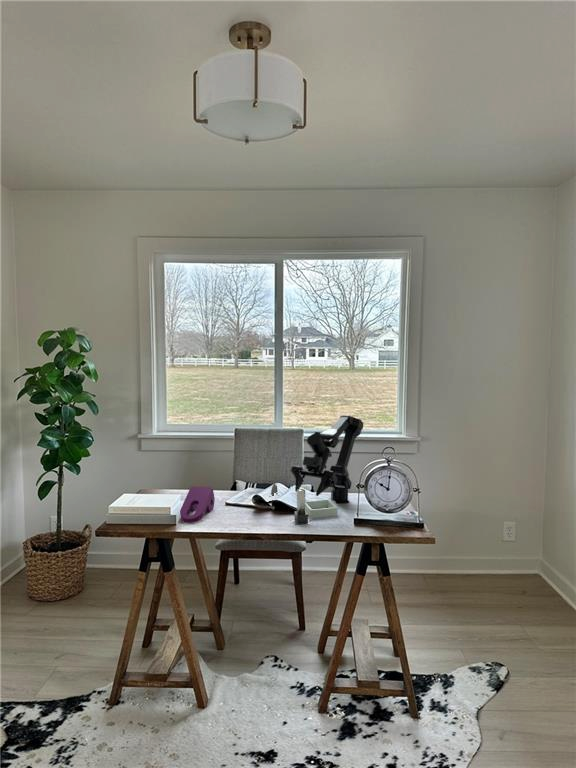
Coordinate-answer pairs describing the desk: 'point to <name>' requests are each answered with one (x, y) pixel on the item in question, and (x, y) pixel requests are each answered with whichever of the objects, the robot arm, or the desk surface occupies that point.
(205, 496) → the mounting bracket
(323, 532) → the desk surface
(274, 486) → the pocket watch
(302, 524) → the stud plate
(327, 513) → the bin
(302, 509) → the strut
